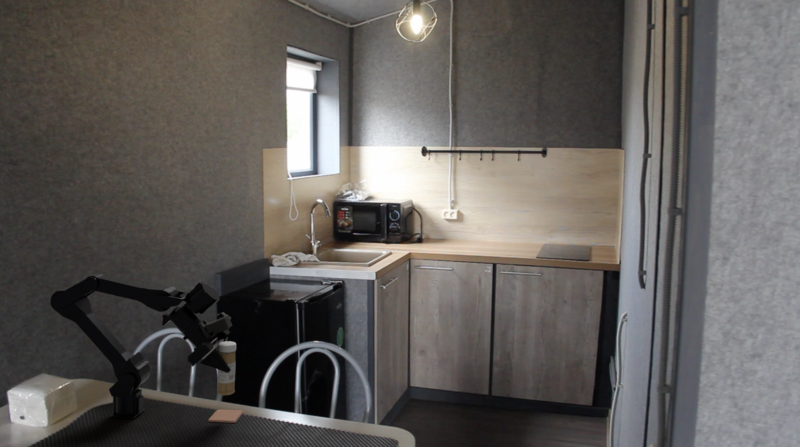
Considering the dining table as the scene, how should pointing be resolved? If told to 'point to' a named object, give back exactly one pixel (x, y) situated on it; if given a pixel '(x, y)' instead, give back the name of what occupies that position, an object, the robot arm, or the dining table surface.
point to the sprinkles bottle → (228, 379)
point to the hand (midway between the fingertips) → (231, 368)
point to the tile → (226, 416)
